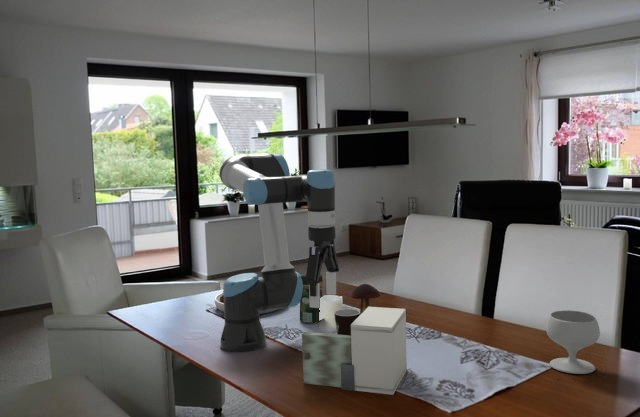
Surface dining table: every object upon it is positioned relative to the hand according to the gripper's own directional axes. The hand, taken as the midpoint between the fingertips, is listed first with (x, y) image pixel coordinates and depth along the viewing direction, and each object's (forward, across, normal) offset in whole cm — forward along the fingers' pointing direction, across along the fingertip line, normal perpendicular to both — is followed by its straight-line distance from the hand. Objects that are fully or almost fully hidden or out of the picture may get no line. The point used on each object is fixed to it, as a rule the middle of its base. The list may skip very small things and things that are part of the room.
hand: (323, 300), depth 162 cm
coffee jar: (+24, +49, +23) cm, 60 cm away
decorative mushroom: (+23, +51, +2) cm, 56 cm away
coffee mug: (+23, +32, +3) cm, 39 cm away
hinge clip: (+22, -5, -9) cm, 24 cm away
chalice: (+22, +25, -66) cm, 74 cm away
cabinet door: (+22, -5, -3) cm, 23 cm away
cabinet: (+22, +2, -16) cm, 27 cm away
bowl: (+25, +62, +55) cm, 87 cm away
